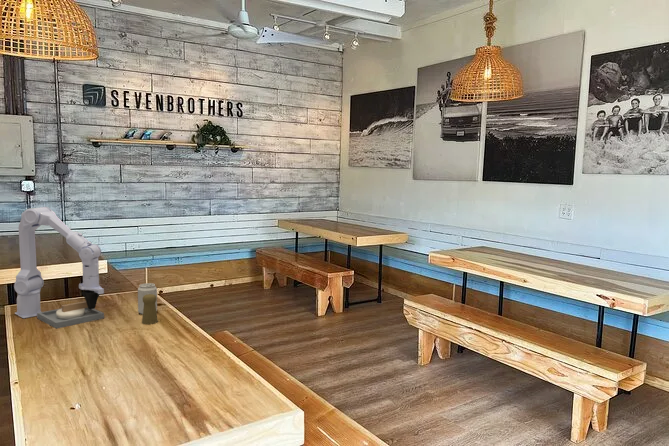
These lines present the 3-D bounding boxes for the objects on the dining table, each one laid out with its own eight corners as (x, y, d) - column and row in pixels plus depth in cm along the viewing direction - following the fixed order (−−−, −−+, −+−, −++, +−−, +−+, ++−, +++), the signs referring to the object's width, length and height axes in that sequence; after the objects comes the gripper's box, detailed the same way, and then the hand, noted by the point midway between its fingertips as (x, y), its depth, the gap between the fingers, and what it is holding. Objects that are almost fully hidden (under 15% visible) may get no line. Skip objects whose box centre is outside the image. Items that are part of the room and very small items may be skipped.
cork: (160, 320, 200) (160, 293, 199) (153, 324, 194) (153, 297, 193) (146, 319, 201) (145, 292, 200) (138, 323, 195) (138, 296, 194)
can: (153, 315, 206) (152, 286, 205) (135, 314, 206) (134, 286, 205) (159, 310, 213) (159, 282, 212) (142, 309, 213) (141, 282, 212)
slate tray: (37, 318, 198) (37, 313, 198) (83, 309, 212) (83, 304, 212) (56, 328, 187) (56, 322, 186) (104, 318, 201) (104, 312, 200)
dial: (52, 315, 198) (51, 304, 198) (85, 308, 209) (85, 298, 208) (62, 320, 192) (62, 309, 192) (97, 313, 202) (96, 302, 202)
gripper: (71, 274, 199) (72, 307, 201) (91, 279, 191) (92, 314, 193) (88, 271, 205) (89, 303, 207) (108, 276, 197) (109, 310, 199)
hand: (91, 308), depth 200 cm, fingers closed
